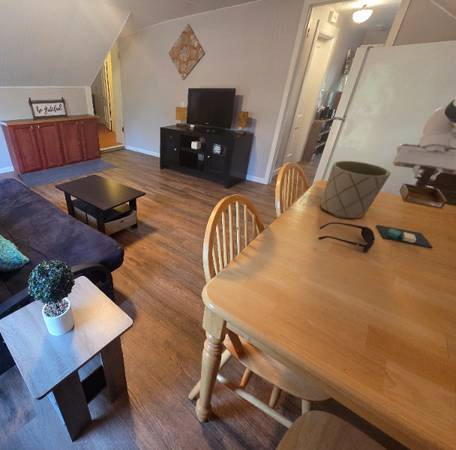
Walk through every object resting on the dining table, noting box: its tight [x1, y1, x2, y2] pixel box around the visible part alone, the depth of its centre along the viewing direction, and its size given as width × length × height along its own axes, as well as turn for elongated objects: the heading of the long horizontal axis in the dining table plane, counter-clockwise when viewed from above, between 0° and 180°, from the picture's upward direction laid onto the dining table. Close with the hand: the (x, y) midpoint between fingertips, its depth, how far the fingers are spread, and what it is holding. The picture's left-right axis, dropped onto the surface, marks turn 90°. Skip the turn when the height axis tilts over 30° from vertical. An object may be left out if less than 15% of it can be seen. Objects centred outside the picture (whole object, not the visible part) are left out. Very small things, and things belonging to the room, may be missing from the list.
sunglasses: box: [318, 221, 376, 253], centre depth 89 cm, size 14×16×5 cm
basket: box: [398, 166, 448, 210], centre depth 87 cm, size 14×10×10 cm
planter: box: [320, 160, 391, 219], centre depth 105 cm, size 19×19×20 cm
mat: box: [376, 224, 433, 249], centre depth 93 cm, size 14×10×1 cm
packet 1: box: [387, 229, 402, 238], centre depth 92 cm, size 4×3×2 cm
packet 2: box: [402, 232, 416, 243], centre depth 90 cm, size 4×3×2 cm
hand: (424, 179), depth 91 cm, fingers closed on basket, 2 cm apart
